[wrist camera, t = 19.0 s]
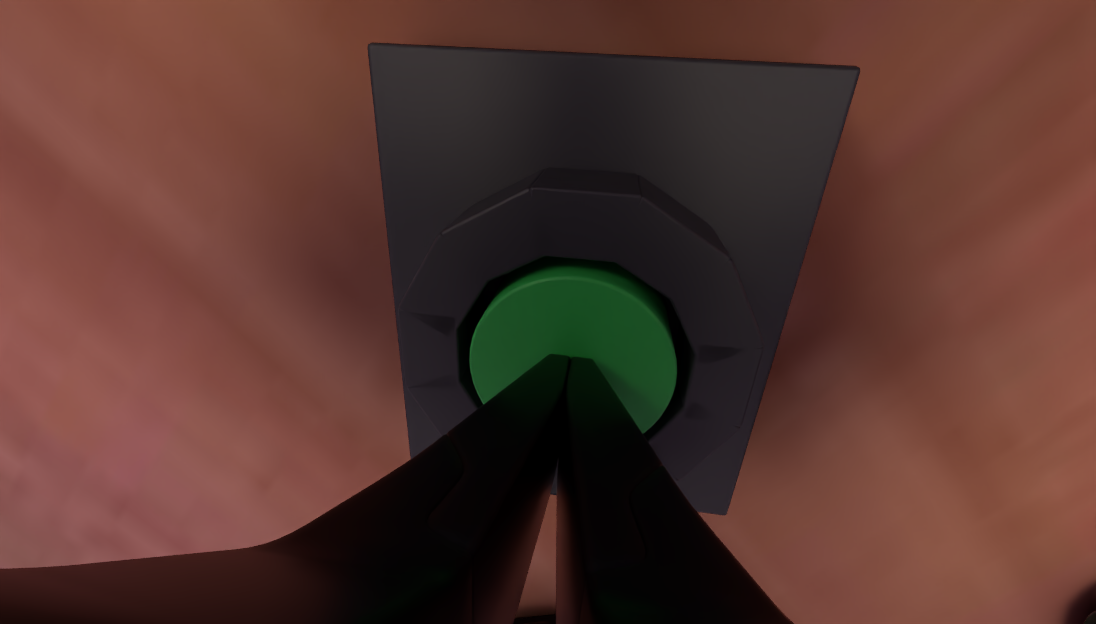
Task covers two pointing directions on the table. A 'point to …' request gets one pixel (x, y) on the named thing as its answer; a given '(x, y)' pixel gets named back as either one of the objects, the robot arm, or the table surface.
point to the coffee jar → (1091, 618)
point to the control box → (605, 214)
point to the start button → (579, 331)
